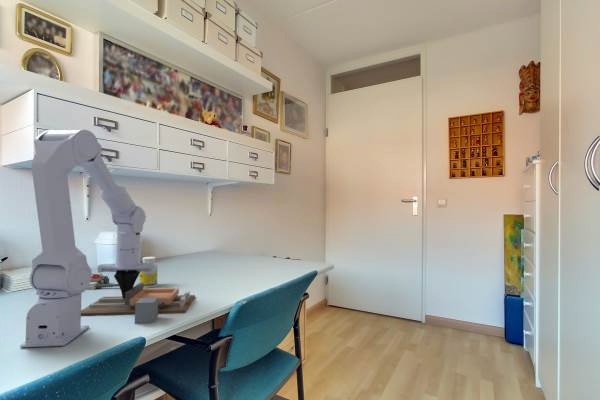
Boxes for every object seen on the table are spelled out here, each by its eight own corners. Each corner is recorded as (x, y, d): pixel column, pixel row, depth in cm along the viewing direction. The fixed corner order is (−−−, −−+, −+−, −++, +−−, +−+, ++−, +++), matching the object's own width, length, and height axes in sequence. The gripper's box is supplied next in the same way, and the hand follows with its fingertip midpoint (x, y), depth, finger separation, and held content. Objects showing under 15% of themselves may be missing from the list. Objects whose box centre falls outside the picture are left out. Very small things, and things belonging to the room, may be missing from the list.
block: (152, 323, 73) (153, 302, 73) (134, 324, 73) (135, 302, 73) (157, 317, 77) (158, 297, 77) (140, 317, 76) (141, 297, 77)
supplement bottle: (139, 284, 107) (140, 256, 107) (157, 283, 109) (157, 255, 109) (139, 288, 102) (140, 259, 102) (157, 287, 104) (158, 258, 104)
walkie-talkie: (53, 291, 98) (120, 290, 101) (54, 277, 98) (120, 276, 101) (70, 284, 107) (131, 283, 110) (70, 271, 107) (131, 271, 110)
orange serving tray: (168, 308, 81) (169, 292, 81) (123, 309, 79) (123, 293, 79) (179, 295, 92) (179, 281, 93) (139, 296, 91) (140, 282, 91)
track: (184, 312, 80) (185, 302, 80) (76, 315, 77) (76, 305, 77) (194, 296, 94) (195, 288, 94) (103, 298, 90) (103, 290, 90)
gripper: (160, 246, 90) (158, 293, 90) (106, 246, 88) (105, 294, 88) (152, 250, 83) (150, 300, 83) (94, 250, 81) (92, 301, 81)
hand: (126, 297), depth 85 cm, fingers closed
